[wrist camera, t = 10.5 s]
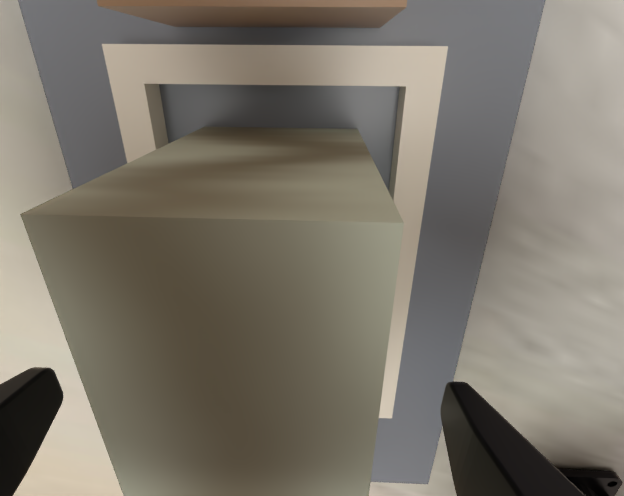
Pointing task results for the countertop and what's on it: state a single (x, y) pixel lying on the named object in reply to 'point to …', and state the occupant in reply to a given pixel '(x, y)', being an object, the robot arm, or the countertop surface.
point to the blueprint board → (321, 114)
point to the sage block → (230, 310)
